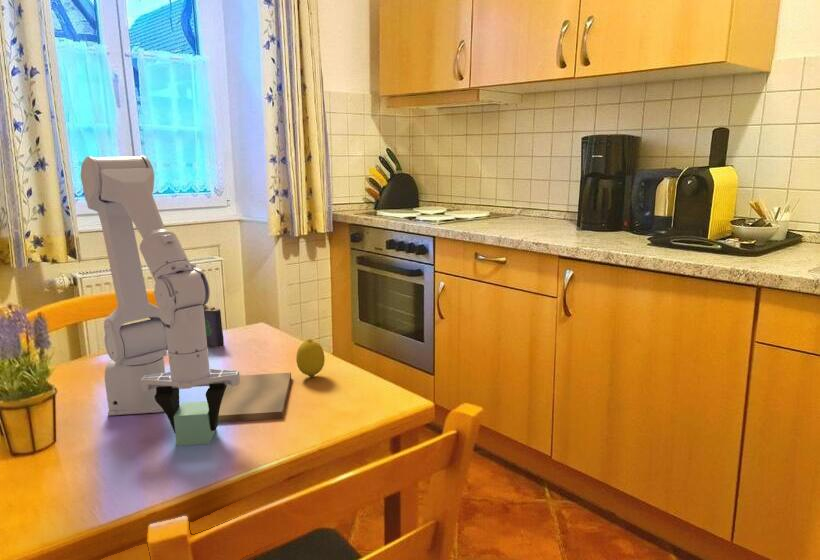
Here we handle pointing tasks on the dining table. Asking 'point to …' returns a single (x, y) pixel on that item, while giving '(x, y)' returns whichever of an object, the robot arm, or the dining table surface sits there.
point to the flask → (213, 327)
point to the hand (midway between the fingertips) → (196, 429)
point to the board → (255, 398)
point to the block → (193, 424)
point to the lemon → (310, 358)
